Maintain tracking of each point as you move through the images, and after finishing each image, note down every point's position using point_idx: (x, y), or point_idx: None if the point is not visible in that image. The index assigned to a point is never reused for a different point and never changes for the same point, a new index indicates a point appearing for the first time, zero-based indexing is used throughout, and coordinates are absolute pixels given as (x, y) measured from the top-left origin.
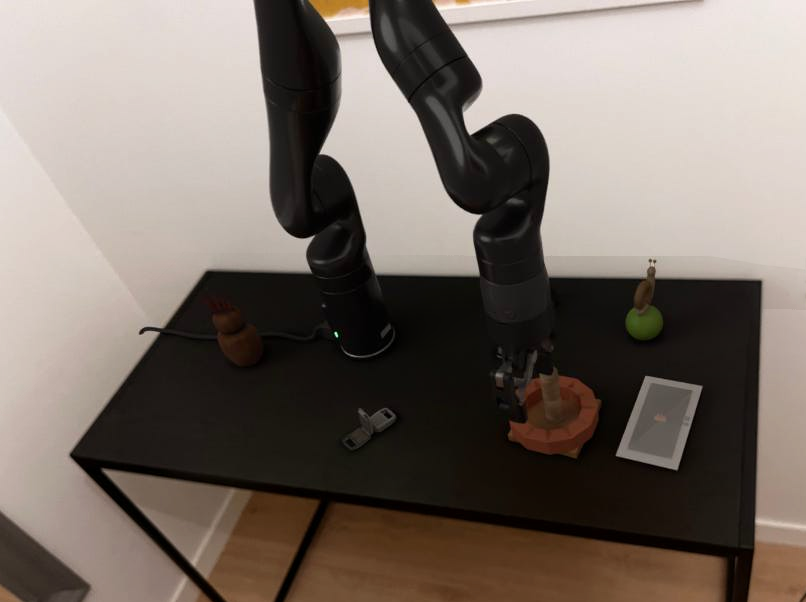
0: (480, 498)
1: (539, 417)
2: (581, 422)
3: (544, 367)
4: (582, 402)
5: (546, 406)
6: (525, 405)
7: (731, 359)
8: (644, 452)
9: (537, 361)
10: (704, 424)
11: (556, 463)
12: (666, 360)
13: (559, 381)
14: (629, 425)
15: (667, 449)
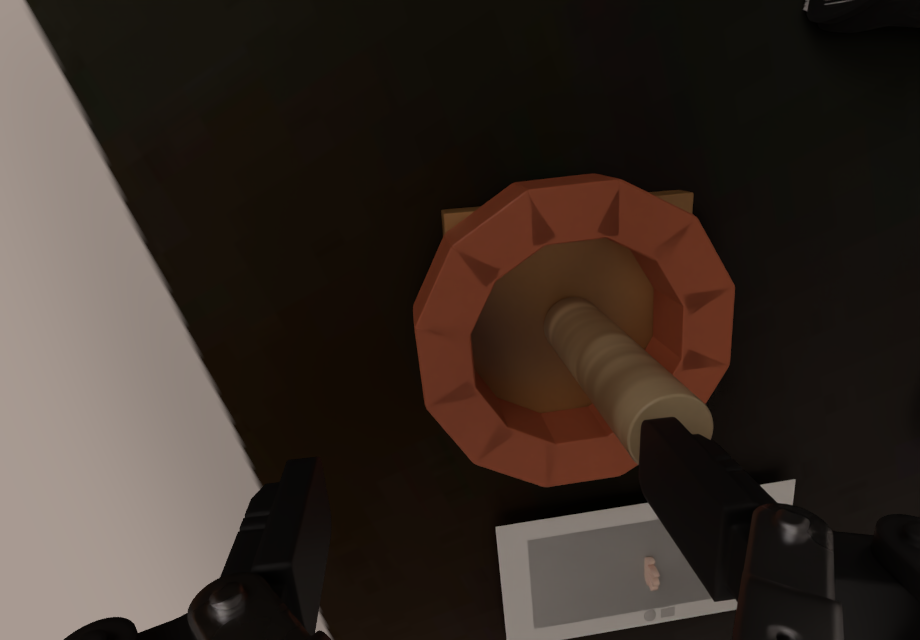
0: (183, 242)
1: (554, 278)
2: (546, 461)
3: (662, 490)
4: None
5: (567, 345)
6: (315, 618)
7: None
8: (531, 576)
9: (684, 478)
10: (667, 622)
11: (419, 386)
12: (864, 481)
13: (705, 316)
14: (606, 514)
15: (559, 613)
